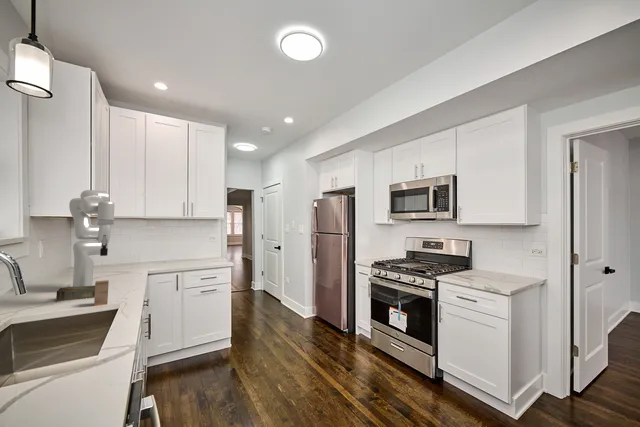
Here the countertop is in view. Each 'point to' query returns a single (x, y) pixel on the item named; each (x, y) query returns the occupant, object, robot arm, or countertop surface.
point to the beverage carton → (75, 293)
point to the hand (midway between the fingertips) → (103, 255)
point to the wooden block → (101, 293)
